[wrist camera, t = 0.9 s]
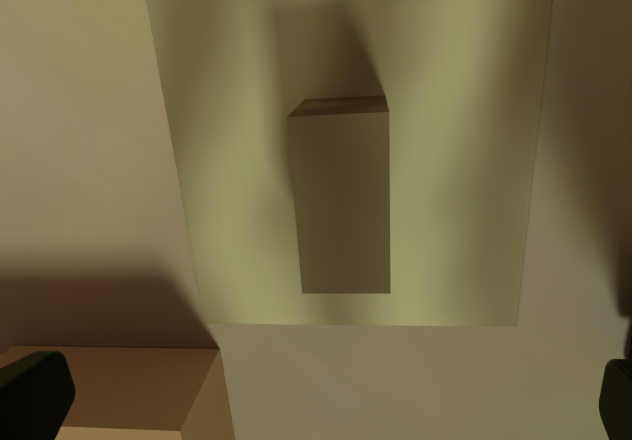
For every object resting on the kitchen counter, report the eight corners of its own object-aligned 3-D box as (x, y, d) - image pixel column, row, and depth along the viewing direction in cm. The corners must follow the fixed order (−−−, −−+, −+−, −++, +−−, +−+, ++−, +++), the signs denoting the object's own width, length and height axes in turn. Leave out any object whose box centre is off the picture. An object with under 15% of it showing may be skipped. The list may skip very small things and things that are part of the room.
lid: (548, -39, 16) (619, -68, 11) (511, 315, 21) (549, 392, 16) (154, -5, 17) (79, -19, 13) (210, 313, 22) (170, 382, 18)
